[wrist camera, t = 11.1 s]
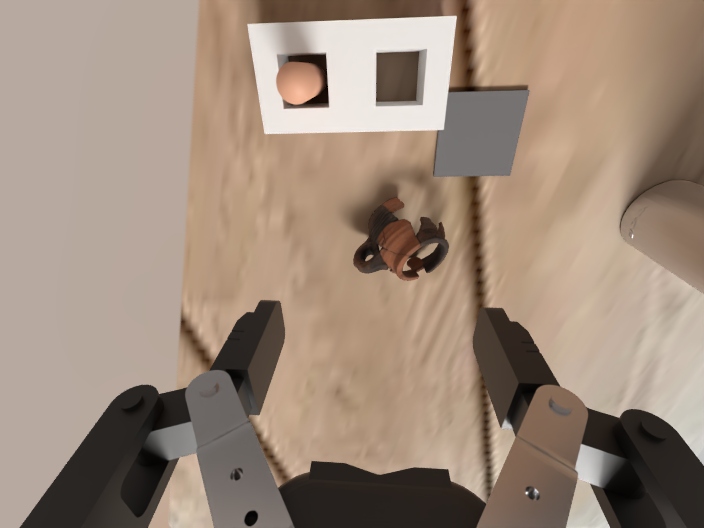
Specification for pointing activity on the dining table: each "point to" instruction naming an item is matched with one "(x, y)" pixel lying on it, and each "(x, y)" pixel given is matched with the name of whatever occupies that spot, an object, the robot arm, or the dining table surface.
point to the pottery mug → (399, 243)
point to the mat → (480, 133)
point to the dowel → (300, 81)
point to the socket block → (354, 73)
